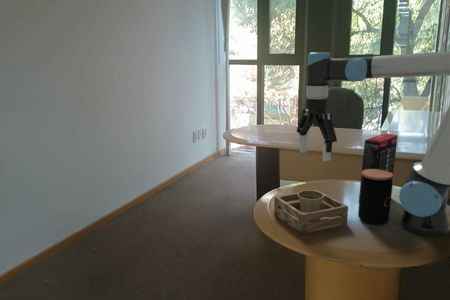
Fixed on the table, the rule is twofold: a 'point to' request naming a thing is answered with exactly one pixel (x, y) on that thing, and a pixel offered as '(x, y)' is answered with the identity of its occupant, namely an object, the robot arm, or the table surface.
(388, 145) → the graphics card box
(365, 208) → the coffee jar
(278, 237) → the table surface
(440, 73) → the robot arm
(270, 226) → the table surface
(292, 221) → the crate
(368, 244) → the table surface
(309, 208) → the flower pot
